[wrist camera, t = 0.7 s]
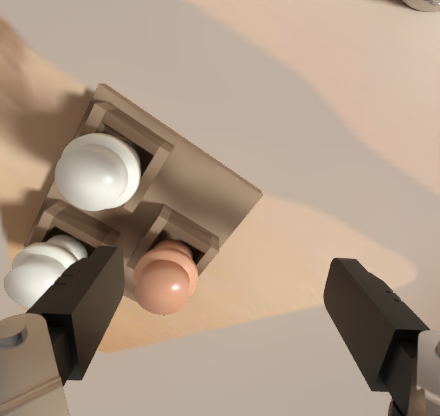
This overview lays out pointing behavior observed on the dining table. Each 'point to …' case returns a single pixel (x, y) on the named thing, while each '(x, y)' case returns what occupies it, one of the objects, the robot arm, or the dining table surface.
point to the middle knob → (165, 277)
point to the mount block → (152, 193)
